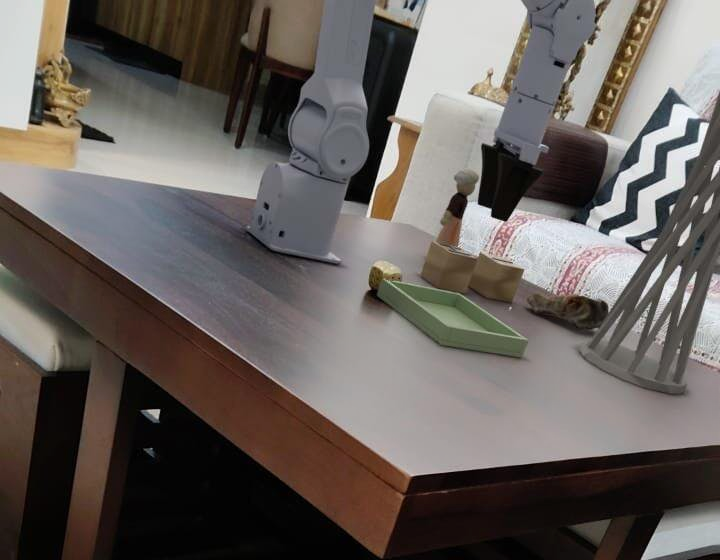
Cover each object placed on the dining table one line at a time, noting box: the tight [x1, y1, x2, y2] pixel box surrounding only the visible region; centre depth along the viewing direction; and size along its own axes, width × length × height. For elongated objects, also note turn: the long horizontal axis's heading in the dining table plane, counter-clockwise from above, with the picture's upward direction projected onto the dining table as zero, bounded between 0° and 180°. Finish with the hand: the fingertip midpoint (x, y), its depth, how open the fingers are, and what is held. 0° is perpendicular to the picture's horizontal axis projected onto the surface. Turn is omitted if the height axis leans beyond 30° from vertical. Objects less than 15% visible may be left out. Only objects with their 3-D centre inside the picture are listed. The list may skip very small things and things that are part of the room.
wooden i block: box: [468, 251, 526, 304], centre depth 131 cm, size 4×4×5 cm
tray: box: [376, 278, 530, 358], centre depth 110 cm, size 11×14×2 cm
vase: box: [578, 90, 720, 395], centre depth 112 cm, size 14×13×35 cm
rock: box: [526, 292, 610, 331], centre depth 131 cm, size 9×6×10 cm
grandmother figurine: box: [435, 167, 480, 247], centre depth 138 cm, size 8×4×13 cm, turn 168°
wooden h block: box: [420, 240, 478, 294], centre depth 127 cm, size 4×4×5 cm
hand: (491, 212), depth 127 cm, fingers open, 7 cm apart
